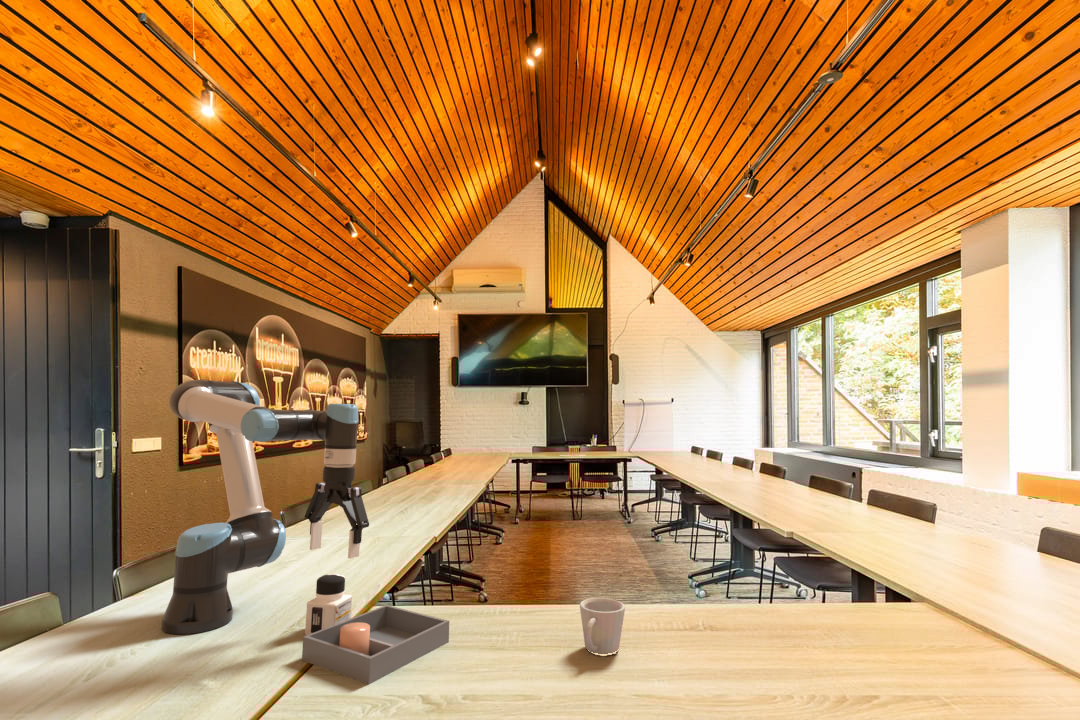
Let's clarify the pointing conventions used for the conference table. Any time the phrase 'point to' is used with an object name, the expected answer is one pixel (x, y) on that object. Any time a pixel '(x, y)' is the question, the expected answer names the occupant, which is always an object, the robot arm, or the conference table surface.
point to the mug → (602, 624)
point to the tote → (377, 643)
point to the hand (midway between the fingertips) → (333, 553)
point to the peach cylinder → (355, 637)
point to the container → (328, 604)
